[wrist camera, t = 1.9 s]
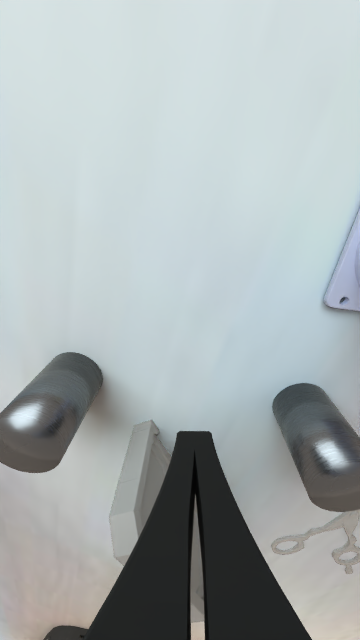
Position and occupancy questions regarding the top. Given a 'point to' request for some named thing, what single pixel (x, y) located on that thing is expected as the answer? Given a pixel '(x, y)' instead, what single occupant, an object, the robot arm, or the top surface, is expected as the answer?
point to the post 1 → (48, 413)
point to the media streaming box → (66, 633)
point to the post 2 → (320, 446)
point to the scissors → (344, 519)
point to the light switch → (148, 504)
